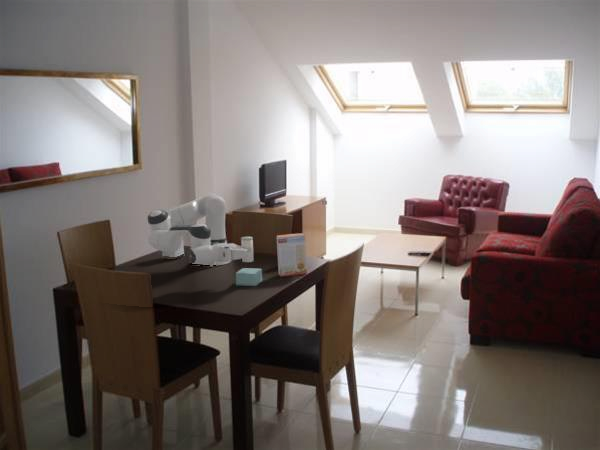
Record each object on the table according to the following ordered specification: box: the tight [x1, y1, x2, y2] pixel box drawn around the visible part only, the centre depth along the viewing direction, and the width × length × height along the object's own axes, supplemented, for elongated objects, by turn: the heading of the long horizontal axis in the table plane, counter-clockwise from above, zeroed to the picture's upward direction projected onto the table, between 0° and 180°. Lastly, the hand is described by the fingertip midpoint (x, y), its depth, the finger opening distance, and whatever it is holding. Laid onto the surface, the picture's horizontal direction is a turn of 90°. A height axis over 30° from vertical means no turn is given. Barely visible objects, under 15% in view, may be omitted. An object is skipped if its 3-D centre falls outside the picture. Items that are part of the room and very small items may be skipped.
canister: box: [240, 236, 254, 263], centre depth 327 cm, size 6×6×12 cm
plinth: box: [235, 267, 264, 287], centre depth 330 cm, size 11×11×6 cm
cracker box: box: [276, 232, 308, 278], centre depth 341 cm, size 14×6×21 cm, turn 102°
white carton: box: [161, 239, 185, 257], centre depth 390 cm, size 10×9×17 cm
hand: (249, 248), depth 327 cm, fingers closed on canister, 6 cm apart
